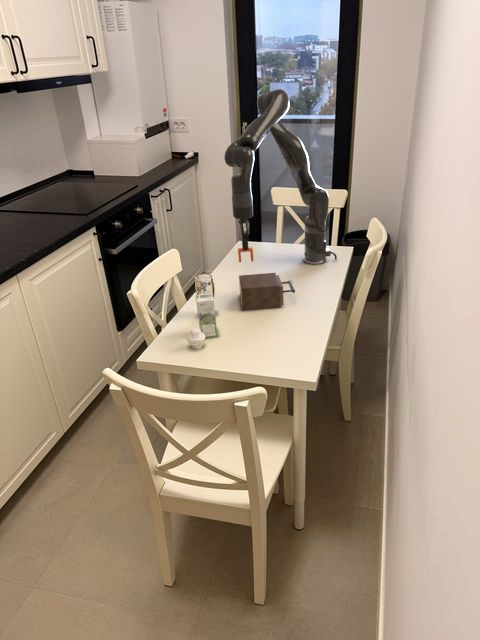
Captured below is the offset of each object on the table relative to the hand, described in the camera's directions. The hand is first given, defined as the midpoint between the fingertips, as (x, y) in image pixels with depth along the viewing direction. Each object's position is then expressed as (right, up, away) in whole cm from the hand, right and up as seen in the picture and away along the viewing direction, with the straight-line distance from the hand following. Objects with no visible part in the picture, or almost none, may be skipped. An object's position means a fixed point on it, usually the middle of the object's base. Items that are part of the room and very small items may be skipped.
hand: (245, 248), depth 193 cm
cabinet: (+6, -21, +2) cm, 21 cm away
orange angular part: (0, -4, +3) cm, 5 cm away
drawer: (+10, -19, +2) cm, 22 cm away
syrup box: (-12, -34, -18) cm, 40 cm away
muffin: (-15, -38, -25) cm, 48 cm away
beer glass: (-14, -26, -5) cm, 30 cm away
